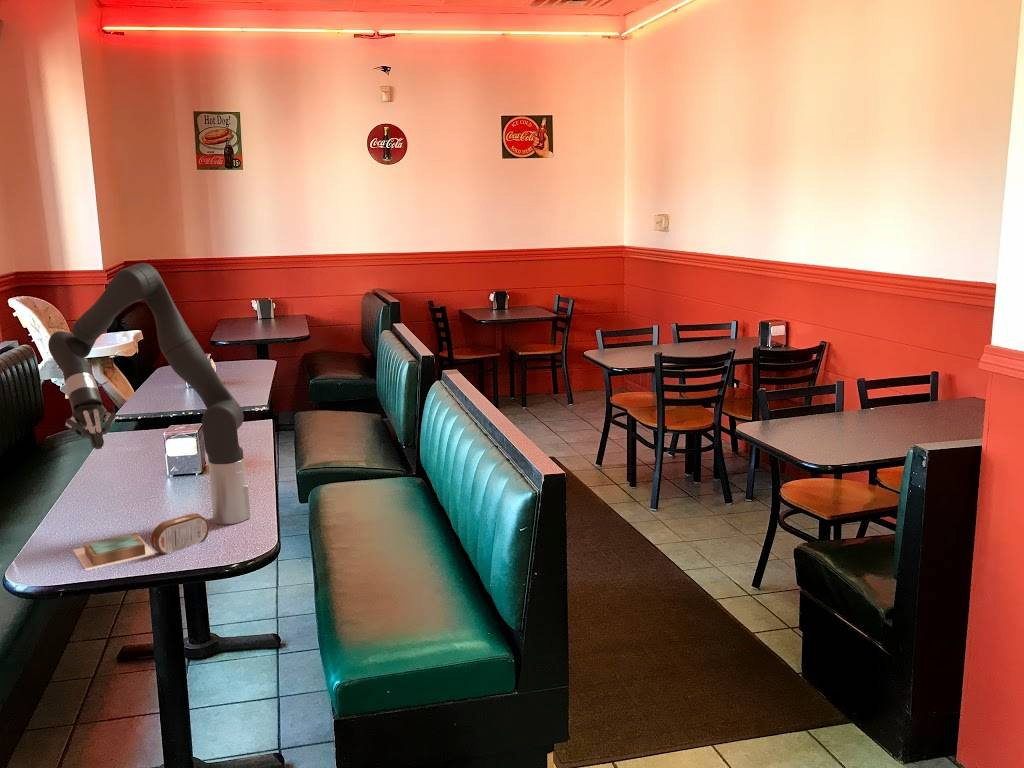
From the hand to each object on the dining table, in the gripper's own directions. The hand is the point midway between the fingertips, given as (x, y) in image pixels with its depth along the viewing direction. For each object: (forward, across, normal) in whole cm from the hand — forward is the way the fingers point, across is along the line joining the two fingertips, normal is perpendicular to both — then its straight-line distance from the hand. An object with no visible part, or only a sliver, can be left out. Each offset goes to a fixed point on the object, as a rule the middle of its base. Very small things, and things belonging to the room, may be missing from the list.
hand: (99, 447), depth 233 cm
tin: (+34, +12, -1) cm, 36 cm away
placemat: (+29, -2, +5) cm, 29 cm away
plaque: (+25, -2, +6) cm, 26 cm away
